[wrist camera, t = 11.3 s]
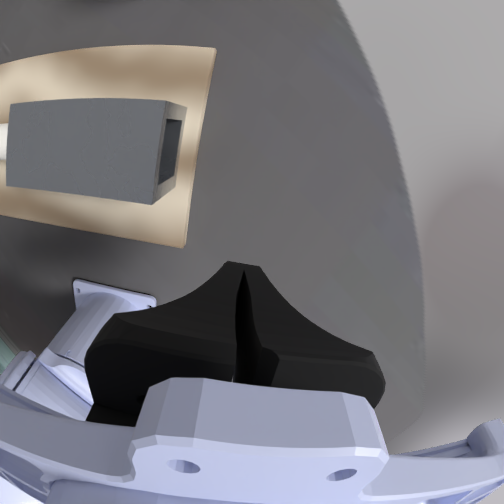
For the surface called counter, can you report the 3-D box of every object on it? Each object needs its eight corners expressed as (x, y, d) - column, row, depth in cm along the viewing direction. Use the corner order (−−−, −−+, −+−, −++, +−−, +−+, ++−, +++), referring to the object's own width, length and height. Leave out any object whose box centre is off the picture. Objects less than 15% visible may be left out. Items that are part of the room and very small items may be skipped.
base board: (185, 243, 22) (182, 248, 21) (-41, 203, 20) (-47, 205, 19) (216, 51, 17) (215, 48, 16) (-35, 78, 15) (-41, 78, 14)
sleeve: (175, 187, 19) (151, 205, 15) (47, 172, 19) (6, 186, 14) (187, 107, 17) (165, 100, 13) (52, 103, 17) (10, 104, 12)
